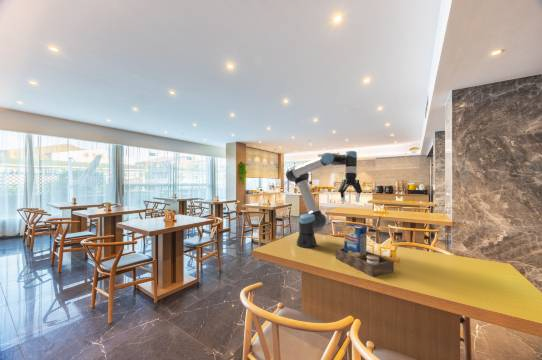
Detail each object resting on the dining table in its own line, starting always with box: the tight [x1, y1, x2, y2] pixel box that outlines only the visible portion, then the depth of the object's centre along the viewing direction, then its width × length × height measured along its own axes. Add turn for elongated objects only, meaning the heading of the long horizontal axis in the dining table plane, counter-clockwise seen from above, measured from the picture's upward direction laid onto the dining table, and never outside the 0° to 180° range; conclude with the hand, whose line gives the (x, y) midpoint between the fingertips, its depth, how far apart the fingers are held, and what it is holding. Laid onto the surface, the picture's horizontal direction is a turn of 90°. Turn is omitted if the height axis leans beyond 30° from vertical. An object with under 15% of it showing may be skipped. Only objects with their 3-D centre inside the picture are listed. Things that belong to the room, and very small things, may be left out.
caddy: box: [335, 247, 395, 278], centre depth 129 cm, size 28×16×6 cm, turn 24°
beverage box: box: [343, 223, 368, 257], centre depth 135 cm, size 7×11×22 cm, turn 36°
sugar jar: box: [366, 255, 379, 264], centre depth 123 cm, size 7×7×7 cm
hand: (350, 202), depth 156 cm, fingers open, 13 cm apart
